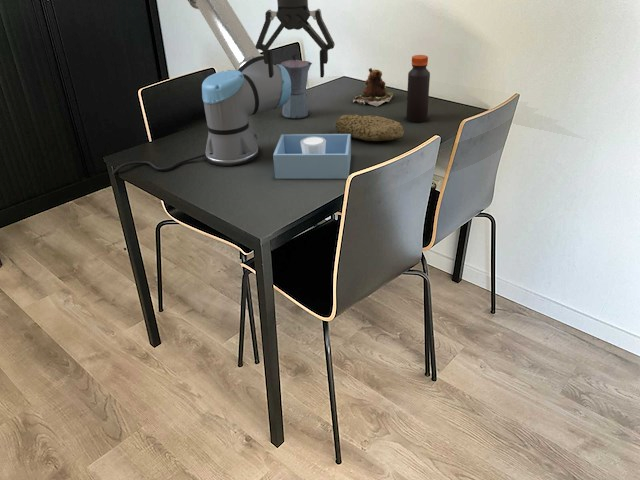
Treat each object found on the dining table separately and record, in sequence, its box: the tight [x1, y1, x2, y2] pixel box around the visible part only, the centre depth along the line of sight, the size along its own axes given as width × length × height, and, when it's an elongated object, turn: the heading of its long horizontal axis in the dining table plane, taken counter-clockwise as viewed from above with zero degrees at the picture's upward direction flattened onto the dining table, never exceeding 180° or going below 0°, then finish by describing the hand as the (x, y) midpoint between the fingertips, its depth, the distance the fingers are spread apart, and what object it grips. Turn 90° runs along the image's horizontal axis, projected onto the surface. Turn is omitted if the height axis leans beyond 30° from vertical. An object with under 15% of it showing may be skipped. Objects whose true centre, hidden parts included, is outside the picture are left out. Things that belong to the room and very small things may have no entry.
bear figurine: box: [352, 67, 394, 107], centre depth 197 cm, size 14×15×12 cm
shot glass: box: [301, 136, 326, 154], centre depth 151 cm, size 7×7×7 cm
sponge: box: [334, 113, 405, 142], centre depth 167 cm, size 13×8×20 cm
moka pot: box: [274, 54, 313, 119], centre depth 184 cm, size 10×15×20 cm, turn 124°
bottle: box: [405, 54, 431, 123], centre depth 176 cm, size 7×7×20 cm
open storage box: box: [272, 133, 352, 180], centre depth 151 cm, size 20×15×7 cm
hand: (296, 76), depth 146 cm, fingers open, 13 cm apart
